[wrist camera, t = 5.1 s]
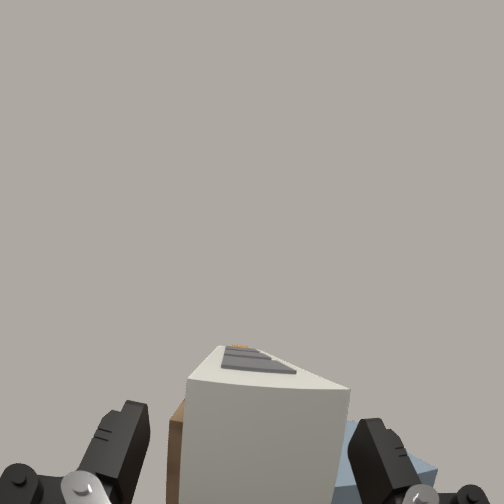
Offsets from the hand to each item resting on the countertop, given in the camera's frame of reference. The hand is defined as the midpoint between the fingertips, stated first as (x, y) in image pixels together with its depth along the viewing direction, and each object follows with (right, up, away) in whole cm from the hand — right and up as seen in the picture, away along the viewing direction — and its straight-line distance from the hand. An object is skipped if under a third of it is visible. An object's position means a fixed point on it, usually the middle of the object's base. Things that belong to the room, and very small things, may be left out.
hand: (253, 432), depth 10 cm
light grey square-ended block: (-1, -4, +9) cm, 10 cm away
